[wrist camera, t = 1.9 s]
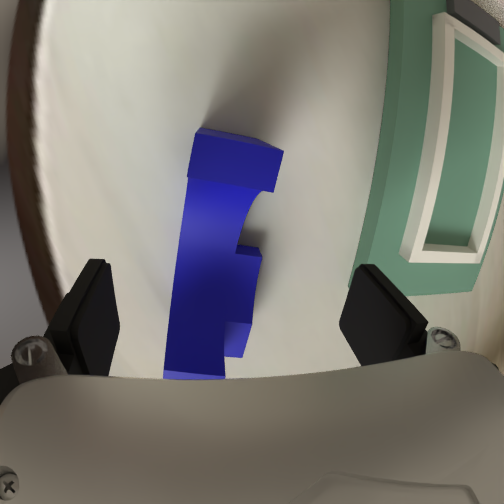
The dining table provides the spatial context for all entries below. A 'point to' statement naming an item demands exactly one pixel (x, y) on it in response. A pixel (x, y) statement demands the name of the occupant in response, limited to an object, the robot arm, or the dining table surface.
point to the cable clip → (216, 254)
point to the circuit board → (437, 148)
